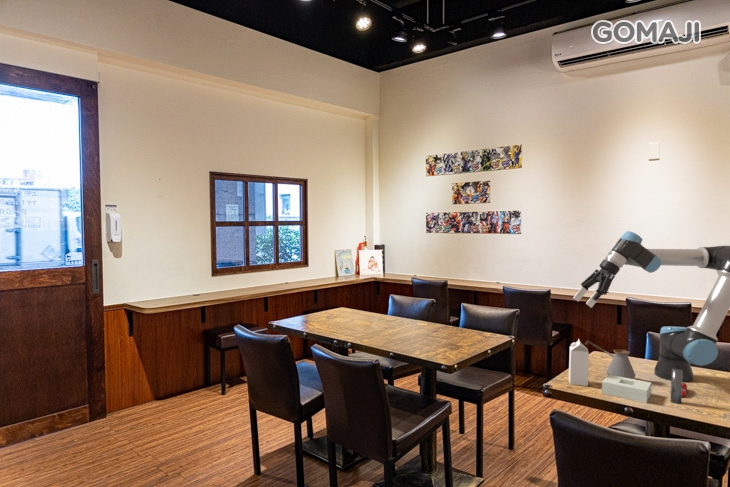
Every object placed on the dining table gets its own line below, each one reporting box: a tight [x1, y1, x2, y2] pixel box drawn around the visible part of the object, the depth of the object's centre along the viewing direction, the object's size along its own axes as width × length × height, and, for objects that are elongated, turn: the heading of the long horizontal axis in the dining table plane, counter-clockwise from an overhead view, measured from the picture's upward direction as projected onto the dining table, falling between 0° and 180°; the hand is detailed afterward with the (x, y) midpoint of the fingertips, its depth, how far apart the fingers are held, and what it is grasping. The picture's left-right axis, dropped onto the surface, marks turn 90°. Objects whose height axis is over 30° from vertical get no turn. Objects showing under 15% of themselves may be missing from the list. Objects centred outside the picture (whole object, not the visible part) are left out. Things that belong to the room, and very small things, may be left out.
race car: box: [682, 382, 688, 398], centre depth 198 cm, size 13×5×4 cm, turn 141°
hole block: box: [601, 374, 652, 404], centre depth 196 cm, size 16×12×5 cm
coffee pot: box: [584, 340, 636, 379], centre depth 217 cm, size 21×12×15 cm, turn 45°
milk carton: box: [568, 338, 590, 387], centre depth 209 cm, size 7×7×19 cm
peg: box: [670, 368, 683, 405], centre depth 187 cm, size 4×4×13 cm
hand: (581, 302), depth 206 cm, fingers open, 13 cm apart
